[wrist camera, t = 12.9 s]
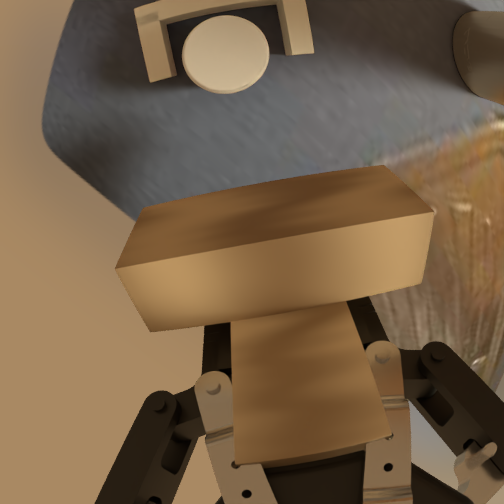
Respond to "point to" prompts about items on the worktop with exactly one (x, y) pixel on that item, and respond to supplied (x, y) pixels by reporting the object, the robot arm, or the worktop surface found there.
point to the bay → (203, 3)
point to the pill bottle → (225, 54)
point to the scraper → (285, 298)
